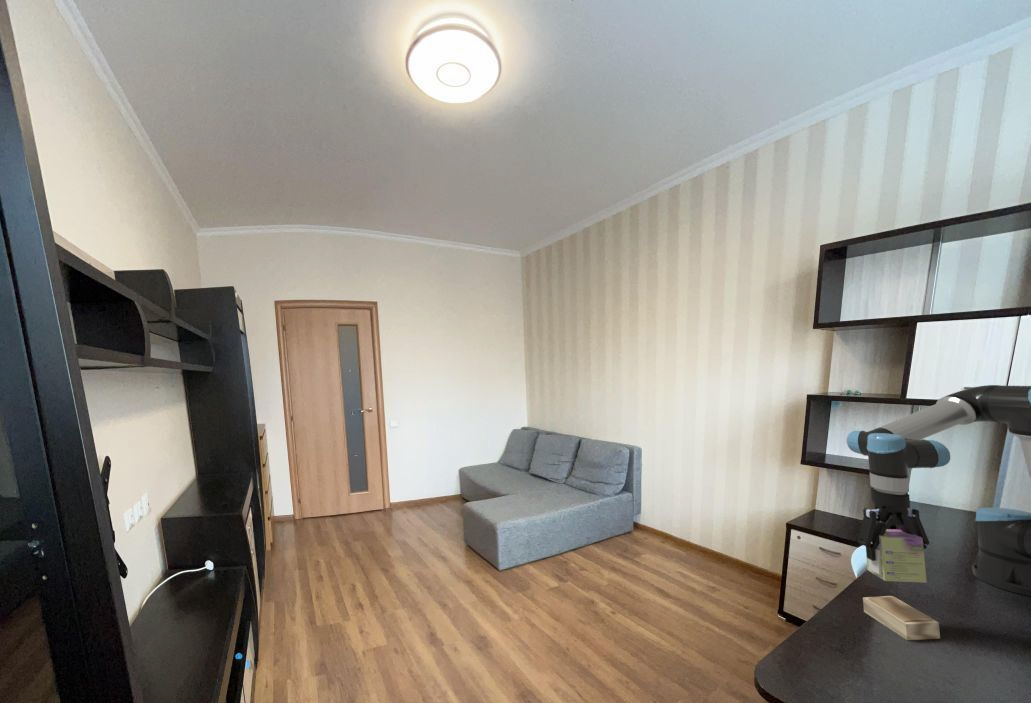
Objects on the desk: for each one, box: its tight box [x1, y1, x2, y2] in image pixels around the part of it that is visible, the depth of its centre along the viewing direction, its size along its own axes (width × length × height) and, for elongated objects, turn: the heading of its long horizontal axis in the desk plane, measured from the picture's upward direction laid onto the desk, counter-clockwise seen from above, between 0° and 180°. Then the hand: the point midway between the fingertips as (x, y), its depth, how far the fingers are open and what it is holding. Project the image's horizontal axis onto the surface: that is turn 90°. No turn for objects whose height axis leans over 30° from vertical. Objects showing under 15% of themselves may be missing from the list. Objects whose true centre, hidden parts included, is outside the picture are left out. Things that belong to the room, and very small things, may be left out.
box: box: [865, 528, 927, 584], centre depth 99 cm, size 10×6×12 cm, turn 84°
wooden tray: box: [862, 595, 941, 641], centre depth 98 cm, size 9×11×4 cm
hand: (895, 570), depth 99 cm, fingers closed on box, 11 cm apart
